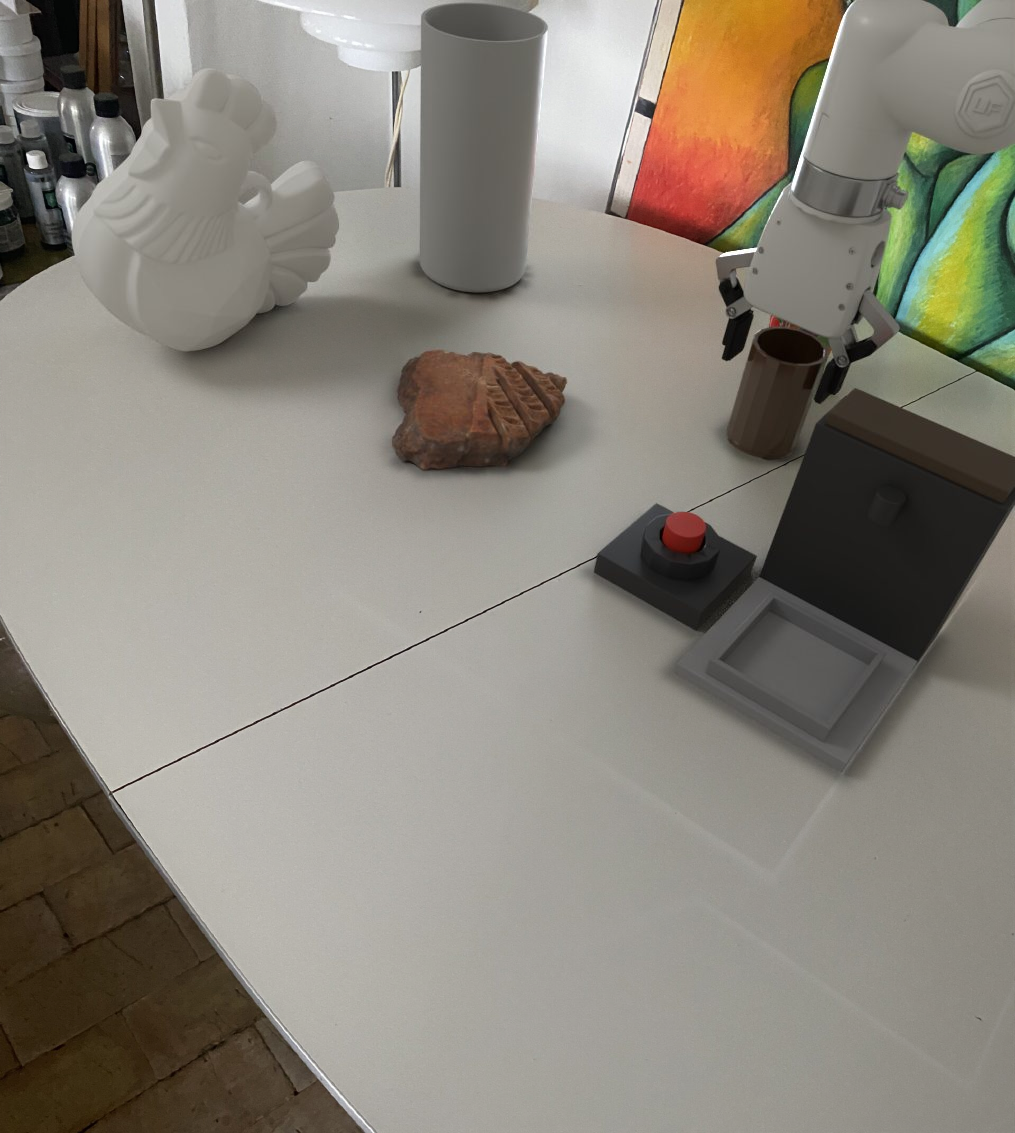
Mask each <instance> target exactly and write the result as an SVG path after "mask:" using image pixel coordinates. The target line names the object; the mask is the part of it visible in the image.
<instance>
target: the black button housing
mask: <svg viewBox="0 0 1015 1133" xmlns="http://www.w3.org/2000/svg"><path fill="white" fill-rule="evenodd" d="M673 513H675V511H672V510H670V509H669V508H667V507H665V506H663V505H661V504H659V503H657V502H656V503H654V504H653V505H652V506H651V507H650V508H648V509H647V510H646V511H645V512H644V513H643V514H641V515H640V516H639V517H638V518H637V519H635V520H634V521H633V522H632V523H631V524H630V525H629V526H627V527H626V528H625V529H624V530H623V531H622V532H620V534H618V535H617V536H616V537H615V538H614V539H612V540H611V541H609V543H607V544H606V546H605V547H602V549H601V550H599V552H597V554H596V559H595V564H594V569H593V573H594V574H595V575H597V576H599V577H601V578H602V579H603V580H606V581H607V582H609V583H610V584H612V585H615V586H616V587H618V588H620V589H622V590H623V591H626V592H627V593H629V594H631V595H632V596H634V597H635V598H637V599H639V600H640V601H643V602H645V603H646V604H648V605H650V606H651V607H653V608H655V609H657V610H659V611H660V612H662V613H664V614H666V615H667V616H669V617H670V618H672V619H674V620H675V621H678V622H680V623H681V624H683V625H684V626H686V627H688V628H690V629H691V630H694V631H695V632H697V631H698V630H699V629H700V628H702V626H703V625H704V624H705V623H706V622H707V621H708V619H709V618H711V616H713V615H714V613H716V611H717V610H718V609H719V608H720V607H721V606H722V605H723V604H724V603H725V602H726V601H727V600H728V599H729V598H730V597H731V596H732V595H733V594H734V593H735V592H736V591H737V589H739V587H740V586H741V585H742V584H743V583H744V582H745V581H746V580H747V579H749V577H750V576H751V574H752V571H753V568H754V566H755V563H756V560H757V558H758V556H757V554H754V553H752V552H750V551H749V550H747V549H745V548H743V547H742V546H740V545H737V544H735V543H734V542H731V541H730V540H728V539H726V538H724V537H722V536H720V535H719V534H718V533H717V532H716V530H715V529H714V527H712V525H711V524H709V523H708V522H706V521H704V522H705V524H706V531H705V534H704V538H703V541H702V545H701V547H700V549H699V550H698V551H696V552H694V553H690V554H685V553H678V552H675V551H673V550H671V549H669V548H667V547H666V546H665V544H664V543H663V540H662V536H663V532H664V528H665V524H666V520H667V518H668V517H669V516H670V515H671V514H673Z"/></svg>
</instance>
